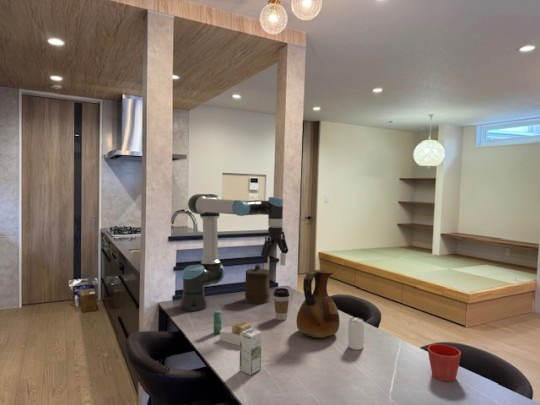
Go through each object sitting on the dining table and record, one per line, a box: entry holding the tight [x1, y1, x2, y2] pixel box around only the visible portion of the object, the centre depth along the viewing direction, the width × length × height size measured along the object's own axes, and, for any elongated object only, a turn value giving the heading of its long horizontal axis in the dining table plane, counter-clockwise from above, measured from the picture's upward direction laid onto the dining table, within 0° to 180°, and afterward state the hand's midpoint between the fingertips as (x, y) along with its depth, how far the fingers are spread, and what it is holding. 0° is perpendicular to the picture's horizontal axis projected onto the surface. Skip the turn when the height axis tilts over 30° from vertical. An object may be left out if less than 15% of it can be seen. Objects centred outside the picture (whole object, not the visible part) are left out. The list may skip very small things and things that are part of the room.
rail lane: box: [219, 327, 260, 347], centre depth 162 cm, size 14×10×4 cm
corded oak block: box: [213, 310, 252, 336], centre depth 165 cm, size 19×6×10 cm, turn 56°
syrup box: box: [239, 327, 263, 376], centre depth 134 cm, size 6×6×14 cm
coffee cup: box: [273, 287, 290, 321], centre depth 190 cm, size 8×8×15 cm
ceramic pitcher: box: [296, 269, 340, 339], centre depth 169 cm, size 20×20×30 cm
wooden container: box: [244, 264, 271, 305], centre depth 222 cm, size 15×15×22 cm
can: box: [347, 316, 365, 351], centre depth 155 cm, size 6×6×12 cm
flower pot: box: [427, 343, 462, 382], centre depth 131 cm, size 11×11×10 cm
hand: (274, 267), depth 189 cm, fingers open, 13 cm apart
